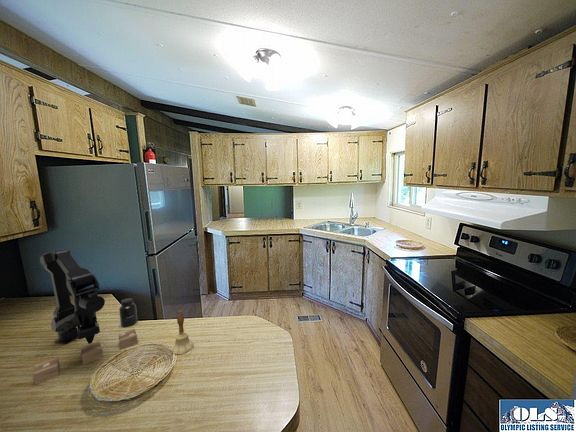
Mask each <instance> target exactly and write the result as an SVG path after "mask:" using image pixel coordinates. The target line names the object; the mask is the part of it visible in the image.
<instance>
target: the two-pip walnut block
mask: <svg viewBox="0 0 576 432" xmlns="http://www.w3.org/2000/svg"><path fill="white" fill-rule="evenodd" d="M137 336H138V335H137V332H136V329H135V328H133V329H130V330H127V331H124V332H120V333H118V342H119V343H118V344H119V348H120V350H123V349H126V348H129V347H132V346H134V345H137V344H138V342H139V341H138V337H137Z"/></svg>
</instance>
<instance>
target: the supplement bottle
mask: <svg viewBox="0 0 576 432" xmlns="http://www.w3.org/2000/svg"><path fill="white" fill-rule="evenodd" d="M118 310H119V320H120V322H119V323H120V326H121V327H123V328H127V327H131V326H133V325H135V324H137V322H138V314H137V313H138V311H137V305H136V303H134V299H133V298H132V297H127V298H124V299H122V300H121V301H120V307H119V308H118Z"/></svg>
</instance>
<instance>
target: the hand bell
mask: <svg viewBox="0 0 576 432" xmlns="http://www.w3.org/2000/svg"><path fill="white" fill-rule="evenodd" d="M176 321H177V324H178V330H179V331H178V334H177V335H176V336H175V342H174V345H173V346H172V348H171V352H172V351H173V352H174V354H173V355H178V356H179V355H183V354H186V353H188V352H190V351H191V350H192V349H193V348H194V342H193V341H192V340H190V338H189V335H188V333H187V332H185V330H184V329H185V328H184V323H185V322H184V321H185V316H184V313H183V311H182V310H181V309H180V310H178V311H177V315H176Z"/></svg>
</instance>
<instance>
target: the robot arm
mask: <svg viewBox="0 0 576 432" xmlns="http://www.w3.org/2000/svg"><path fill="white" fill-rule="evenodd" d="M39 261H40V265H41V266H42V267H43V269H44V270H45V271H47V272H48V273H49V274H50V279H51V282H52V283H51V284H52V289H53V293H54V298H55V302H56V306H55V308H54V310H53V312H52V315H53V318H52V320H51V322H50V323H51V324H50V326H51V330H52V331H54V332H55V333H57V338H58V339H56V340H55V341H54V343H55V344H64V345H66V344H69V343H70V342H72V341H74V340H76V339H77V340H83V339H85V340H86V342H87V344H88V345H91V344H93V343H94V342H93V341H94V339H95V336H96V335H97V334H99V333H101V331H100V330H101V329H100V324H99V322H98V319H97V313H98V312H99V311H100V310H102V309H103V308H104V306H105V303H106V302H105V298H104V297H103V296H101V295H98V292H96V291H99V290H100V283H99V281H98V279H97V277H96V276H95V275H94V274H93V273H92V272H91V271H90V270H89V269H88V268H83V267H81V266H80V265H79V263H78V262H77V261H76V260H75V258H74V257H73V255H72V254H71V250H70V249H69V248H62V249H56V250H54V251H51V252H46V253H43V255H40V256H39ZM70 294H71V296H72V298H73V303H72V300H71V296H70Z"/></svg>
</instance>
